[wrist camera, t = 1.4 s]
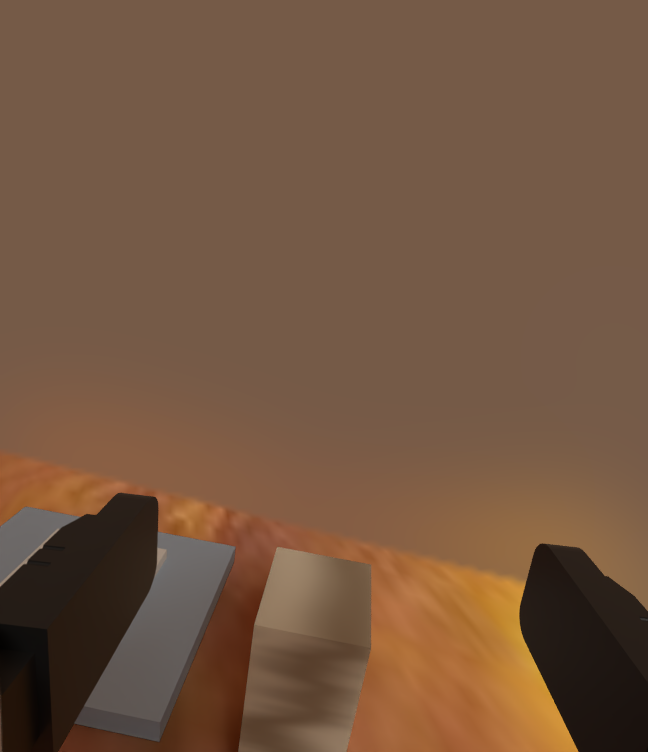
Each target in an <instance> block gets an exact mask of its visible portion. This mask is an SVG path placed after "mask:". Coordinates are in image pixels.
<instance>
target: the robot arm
mask: <svg viewBox="0 0 648 752" xmlns="http://www.w3.org/2000/svg"><path fill="white" fill-rule="evenodd" d="M157 545H158V501H157V499H156V497H151V496H143V495H134V494H126V493H118V494H116V495H115V496H114V497H113V498H112V499H111V500H110V501H109V502H108V503H107V505H106V506H105V507H104V508H103V509H102V510H101V511H100V512H99V513H98V514H97V515H90V514H86V515H84V516H82V517H80V518H78V519H76V520H75V521H73V522H71V523H69V524H67V525H65V526H63V527H61V528H60V529H59V530H58V531H57V532H56V533H55V534H54V535H53V536H52V537H51V538H50V539H49V540H48V541H47V542H46V543H45V544H44V545H43V548H42V549H39V550H38V551H37V552H36V553H34V554H33V555H32V556H31V557H30V558H29V559H28V562H27V564H23V565H22V566H21V567H20V568H19V569H18V570H17V571H16V572H15V573H14V574H13V575H12V576H11V577H10V578H9V579H8V580H7V581H6V582H5V583H3V584H2V585H1V586H0V752H58V751H59V749H60V747H61V746H62V744H63V742H64V740H65V739H66V737H67V735H68V733H69V732H70V730H71V728H72V726H73V725H74V723H75V721H76V719H77V718H78V716H79V714H80V712H81V711H82V709H83V707H84V705H85V704H86V702H87V700H88V698H89V697H90V695H91V693H92V691H93V690H94V688H95V686H96V684H97V683H98V681H99V679H100V677H101V675H102V674H103V672H104V670H105V668H106V667H107V665H108V663H109V661H110V660H111V658H112V656H113V654H114V653H115V651H116V649H117V647H118V646H119V644H120V642H121V640H122V639H123V637H124V635H125V633H126V632H127V630H128V628H129V626H130V625H131V623H132V621H133V619H134V618H135V616H136V614H137V612H138V611H139V609H140V607H141V605H142V604H143V602H144V600H145V598H146V597H147V595H148V593H149V591H150V589H151V586H152V583H153V580H154V576H155V572H156V567H157ZM520 626H521V631H522V635H523V638H524V640H525V642H526V644H527V646H528V648H529V651H530V653H531V655H532V657H533V659H534V661H535V663H536V665H537V667H538V669H539V671H540V673H541V675H542V677H543V679H544V681H545V683H546V686H547V688H548V690H549V692H550V694H551V696H552V698H553V700H554V702H555V704H556V706H557V708H558V710H559V712H560V714H561V716H562V718H563V721H564V723H565V725H566V727H567V729H568V731H569V733H570V735H571V737H572V739H573V741H574V743H575V745H576V747H577V749H578V751H579V752H648V611H647V610H646V609H645V608H644V607H643V605H642V604H641V603H640V602H639V601H638V600H637V599H636V597H635V596H633V595H632V594H631V593H629V592H628V591H627V590H625V589H624V588H623V587H621V586H620V585H619V584H617V583H616V582H615V581H613V580H612V579H611V578H609V577H607V576H604V575H603V573H602V572H601V571H600V570H599V569H598V568H597V566H596V565H595V564H594V563H593V562H592V560H591V559H590V558H589V557H588V556H587V554H586V553H585V552H584V551H583V550H581V549H580V548H577V547H567V546H560V545H550V544H540V545H538V546H537V548H536V549H535V552H534V555H533V559H532V563H531V566H530V570H529V574H528V578H527V581H526V585H525V589H524V593H523V597H522V600H521V605H520Z"/></svg>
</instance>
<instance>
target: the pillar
mask: <svg viewBox="0 0 648 752" xmlns="http://www.w3.org/2000/svg"><path fill="white" fill-rule="evenodd" d="M370 650H371V565H370V564H365V563H359V562H354V561H349V560H344V559H338V558H333V557H328V556H323V555H317V554H312V553H307V552H302V551H296V550H291V549H286V548H281V547H277V550H276V553H275V556H274V560H273V563H272V566H271V570H270V573H269V577H268V580H267V583H266V587H265V590H264V593H263V597H262V600H261V603H260V607H259V610H258V613H257V617H256V620H255V624H254V630H253V638H252V646H251V654H250V662H249V670H248V678H247V686H246V694H245V702H244V710H243V718H242V726H241V733H240V741H239V749H238V752H347V747H348V743H349V739H350V735H351V730H352V726H353V722H354V718H355V713H356V709H357V705H358V701H359V697H360V692H361V688H362V684H363V680H364V675H365V671H366V667H367V663H368V658H369V654H370Z"/></svg>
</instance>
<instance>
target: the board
mask: <svg viewBox="0 0 648 752" xmlns="http://www.w3.org/2000/svg"><path fill="white" fill-rule="evenodd" d="M78 518H80V517H78V516H72V515H67V514H62V513H57V512H51V511H46V510H41V509H36V508H31V507H24V508H23V509H22V510H21V511H19V512H18V513H17V514H16V515H14V516H13V517H12V518H11V519H9V520H8V521H7V522H6V523H4V524H3V525H2V526H1V527H0V586H1V585H2V584H3V583H5V582H6V581H7V580H8V579H9V578H10V577H11V576H12V575H13V574H14V573H15V572H16V571H17V570H18V569H19V568H20V567H21V566H22V565H23V564H27V562H28V559H29V558H30V557H31V556H32V555H33V554H34V553H36V552H37V551H38V550H39V549H42V548H43V545H44V544H45V543H46V542H47V541H48V540H49V539H50V538H51V537H52V536H53V535H54V534H55V533H56V532H57V531H58V530H59V529H60V528H61V527H63V526H65V525H67V524H69V523H71V522H73V521H75V520H76V519H78ZM234 557H235V547H234V546H229V545H224V544H219V543H213V542H208V541H203V540H198V539H192V538H187V537H182V536H177V535H172V534H166V533H161V532H158V545H157V567H156V572H155V576H154V580H153V583H152V586H151V589H150V591H149V593H148V595H147V597H146V598H145V600H144V602H143V604H142V605H141V607H140V609H139V611H138V612H137V614H136V616H135V618H134V619H133V621H132V623H131V625H130V626H129V628H128V630H127V632H126V633H125V635H124V637H123V639H122V640H121V642H120V644H119V646H118V647H117V649H116V651H115V653H114V654H113V656H112V658H111V660H110V661H109V663H108V665H107V667H106V668H105V670H104V672H103V674H102V675H101V677H100V679H99V681H98V683H97V684H96V686H95V688H94V690H93V691H92V693H91V695H90V697H89V698H88V700H87V702H86V704H85V705H84V707H83V709H82V711H81V712H80V714H79V716H78V718H77V719H76V721H75V723H74V724H78V725H83V726H88V727H92V728H97V729H102V730H106V731H111V732H116V733H120V734H125V735H129V736H134V737H139V738H143V739H148V740H153V741H157V742H159V741H160V739H161V736H162V734H163V732H164V729H165V727H166V724H167V722H168V720H169V717H170V715H171V712H172V710H173V708H174V705H175V703H176V700H177V698H178V696H179V693H180V691H181V688H182V686H183V683H184V681H185V679H186V676H187V674H188V671H189V669H190V667H191V664H192V662H193V659H194V657H195V655H196V652H197V650H198V647H199V645H200V642H201V640H202V638H203V635H204V633H205V630H206V628H207V626H208V623H209V621H210V618H211V616H212V614H213V611H214V609H215V606H216V604H217V602H218V599H219V597H220V594H221V592H222V589H223V587H224V585H225V582H226V580H227V577H228V575H229V573H230V570H231V568H232V565H233V563H234Z"/></svg>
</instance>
